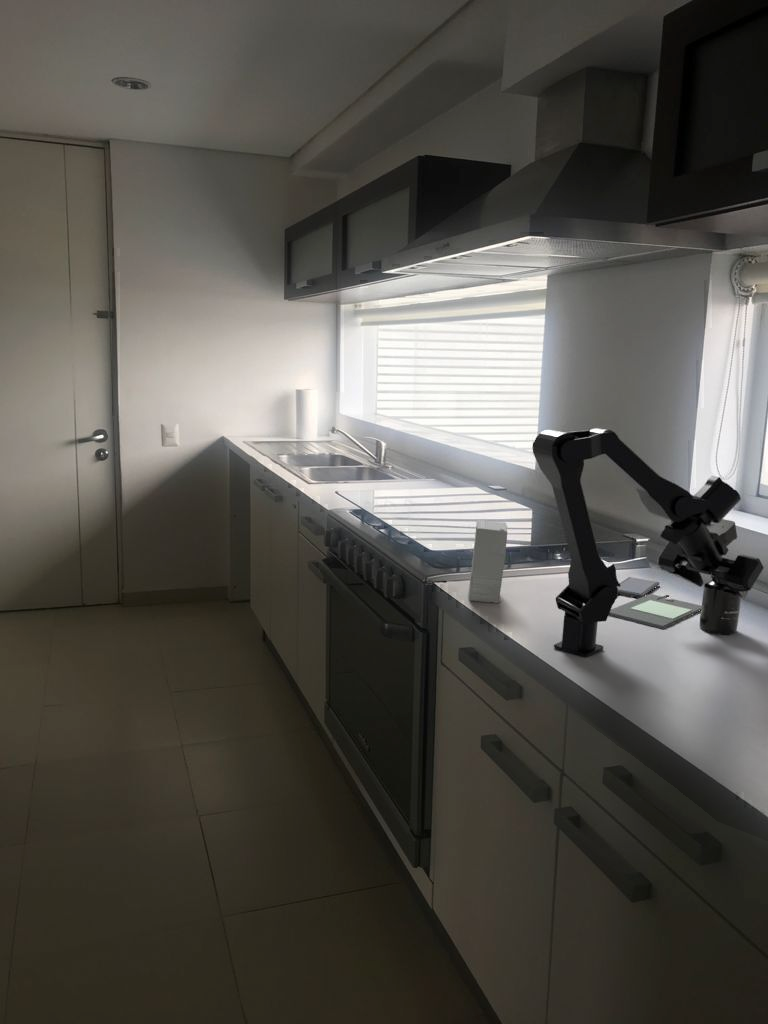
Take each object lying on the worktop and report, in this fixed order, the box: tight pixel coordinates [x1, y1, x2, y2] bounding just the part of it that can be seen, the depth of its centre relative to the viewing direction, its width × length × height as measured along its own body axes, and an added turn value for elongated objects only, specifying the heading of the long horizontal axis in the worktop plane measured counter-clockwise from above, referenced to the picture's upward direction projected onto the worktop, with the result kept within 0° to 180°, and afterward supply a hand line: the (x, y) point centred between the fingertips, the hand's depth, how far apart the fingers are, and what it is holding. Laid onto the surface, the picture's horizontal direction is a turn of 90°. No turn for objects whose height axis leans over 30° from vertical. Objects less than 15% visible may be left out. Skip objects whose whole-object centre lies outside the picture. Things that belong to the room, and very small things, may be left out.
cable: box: [618, 592, 670, 600], centre depth 186 cm, size 7×9×1 cm
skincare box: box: [468, 519, 508, 604], centre depth 179 cm, size 8×7×16 cm
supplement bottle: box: [698, 570, 742, 636], centre depth 164 cm, size 7×7×12 cm
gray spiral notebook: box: [608, 593, 702, 630], centre depth 175 cm, size 20×12×1 cm, turn 138°
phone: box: [617, 576, 660, 599], centre depth 192 cm, size 14×7×1 cm, turn 148°
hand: (722, 590), depth 163 cm, fingers open, 9 cm apart
